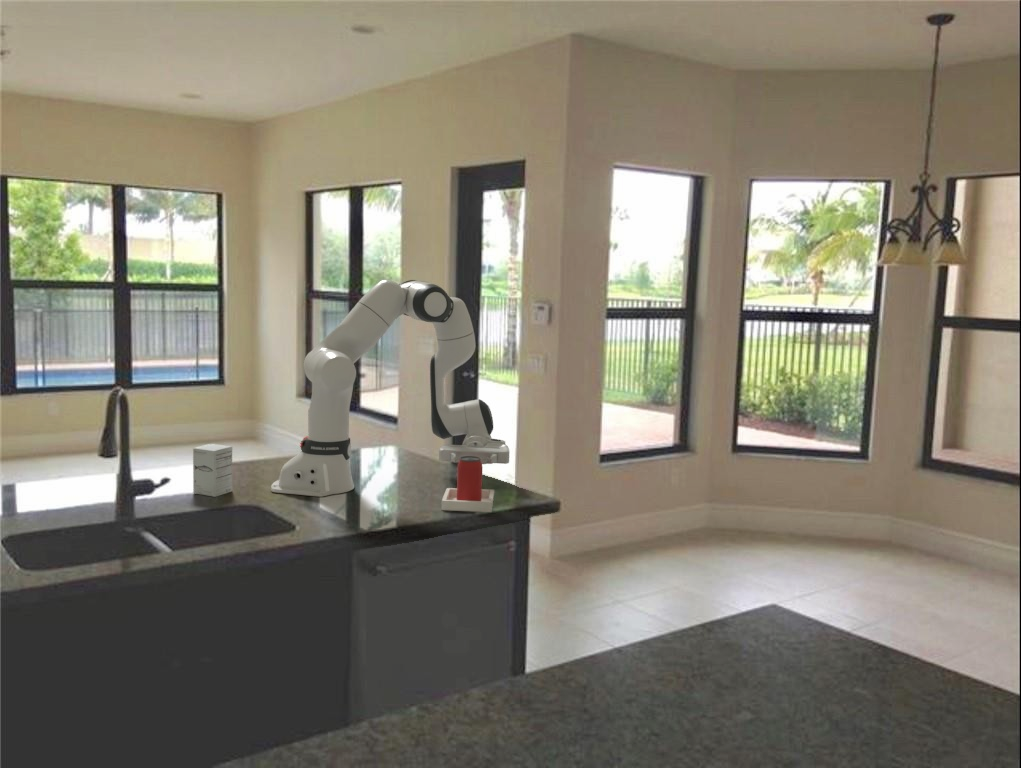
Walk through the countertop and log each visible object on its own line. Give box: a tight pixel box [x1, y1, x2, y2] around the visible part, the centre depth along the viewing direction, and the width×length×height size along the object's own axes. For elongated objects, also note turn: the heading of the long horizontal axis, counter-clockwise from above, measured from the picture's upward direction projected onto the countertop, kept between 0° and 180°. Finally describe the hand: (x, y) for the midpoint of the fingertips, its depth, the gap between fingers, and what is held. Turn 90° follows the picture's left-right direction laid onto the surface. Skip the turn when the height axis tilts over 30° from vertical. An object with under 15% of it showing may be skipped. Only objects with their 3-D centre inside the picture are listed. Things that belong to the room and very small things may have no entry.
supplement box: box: [192, 443, 233, 498], centre depth 225 cm, size 7×7×13 cm
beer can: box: [456, 456, 483, 501], centre depth 223 cm, size 7×7×12 cm
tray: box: [441, 487, 495, 513], centre depth 223 cm, size 13×13×2 cm
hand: (472, 460), depth 234 cm, fingers open, 8 cm apart
